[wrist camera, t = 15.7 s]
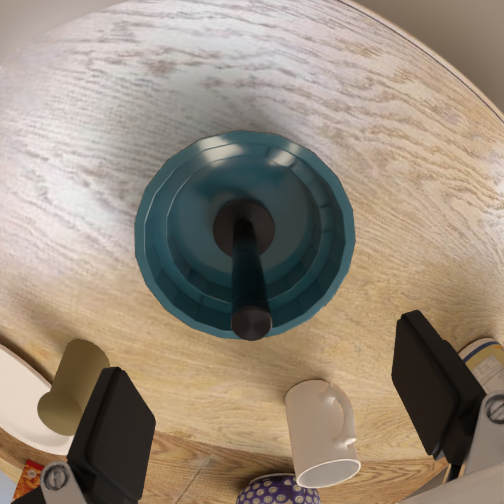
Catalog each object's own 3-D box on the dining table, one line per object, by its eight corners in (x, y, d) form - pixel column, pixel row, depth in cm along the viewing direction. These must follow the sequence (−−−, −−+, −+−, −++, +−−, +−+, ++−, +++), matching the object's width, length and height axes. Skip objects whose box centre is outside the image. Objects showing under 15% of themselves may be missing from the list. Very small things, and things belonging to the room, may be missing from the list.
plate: (80, 368, 33) (74, 380, 31) (94, 462, 42) (91, 471, 40) (-59, 300, 28) (-67, 307, 26) (-20, 408, 38) (-24, 415, 36)
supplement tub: (496, 362, 38) (546, 426, 22) (442, 404, 40) (484, 477, 24) (493, 319, 34) (561, 391, 18) (431, 368, 36) (486, 458, 20)
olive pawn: (119, 370, 33) (93, 442, 23) (87, 380, 34) (59, 445, 23) (88, 333, 31) (49, 402, 21) (57, 346, 31) (19, 409, 21)
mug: (321, 413, 37) (340, 487, 26) (274, 409, 36) (286, 488, 25) (356, 361, 34) (391, 439, 23) (305, 353, 33) (330, 441, 22)
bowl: (134, 157, 24) (107, 166, 19) (316, 116, 24) (339, 113, 18) (183, 314, 30) (174, 352, 25) (339, 281, 30) (359, 315, 24)
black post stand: (207, 204, 25) (178, 287, 12) (267, 191, 25) (301, 261, 12) (221, 259, 27) (212, 374, 14) (278, 247, 27) (314, 355, 14)
